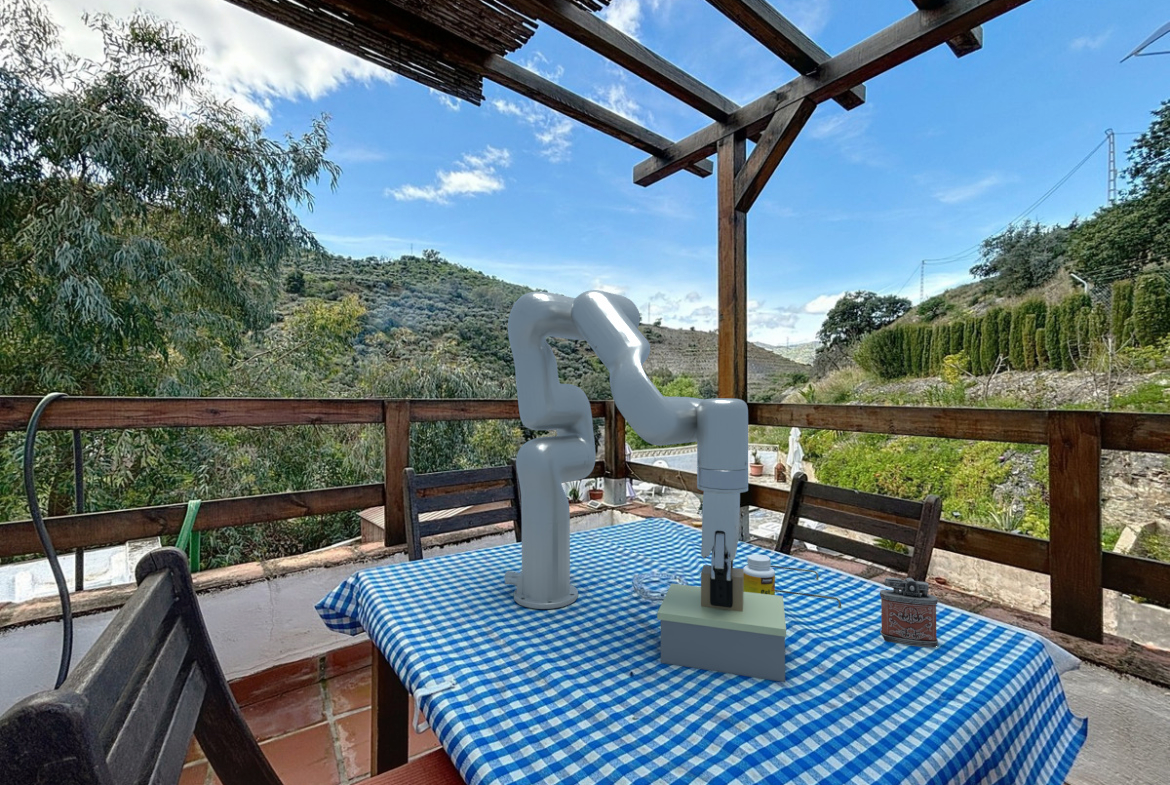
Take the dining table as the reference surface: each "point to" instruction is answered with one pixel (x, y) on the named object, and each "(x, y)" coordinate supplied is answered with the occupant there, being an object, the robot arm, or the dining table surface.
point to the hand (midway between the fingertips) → (722, 598)
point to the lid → (743, 615)
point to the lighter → (908, 613)
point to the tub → (723, 650)
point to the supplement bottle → (759, 575)
